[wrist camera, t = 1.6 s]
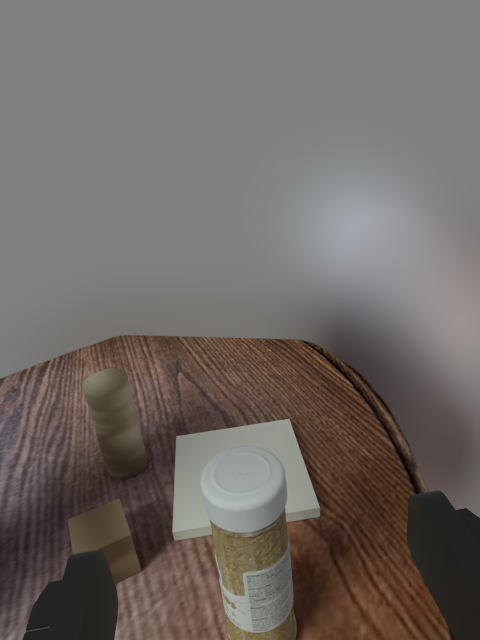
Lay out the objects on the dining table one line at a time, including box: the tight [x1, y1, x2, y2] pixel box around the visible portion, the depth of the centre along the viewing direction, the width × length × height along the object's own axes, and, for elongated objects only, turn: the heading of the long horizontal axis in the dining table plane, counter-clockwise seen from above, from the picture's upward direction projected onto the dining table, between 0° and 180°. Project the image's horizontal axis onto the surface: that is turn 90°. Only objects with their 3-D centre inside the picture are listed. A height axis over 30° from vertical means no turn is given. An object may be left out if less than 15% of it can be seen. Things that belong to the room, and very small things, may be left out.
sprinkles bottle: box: [200, 446, 297, 640], centre depth 26 cm, size 5×5×13 cm
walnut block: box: [68, 498, 141, 584], centre depth 34 cm, size 4×4×4 cm
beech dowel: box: [82, 369, 148, 479], centre depth 43 cm, size 4×4×10 cm
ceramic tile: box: [172, 419, 320, 541], centre depth 41 cm, size 12×12×1 cm
